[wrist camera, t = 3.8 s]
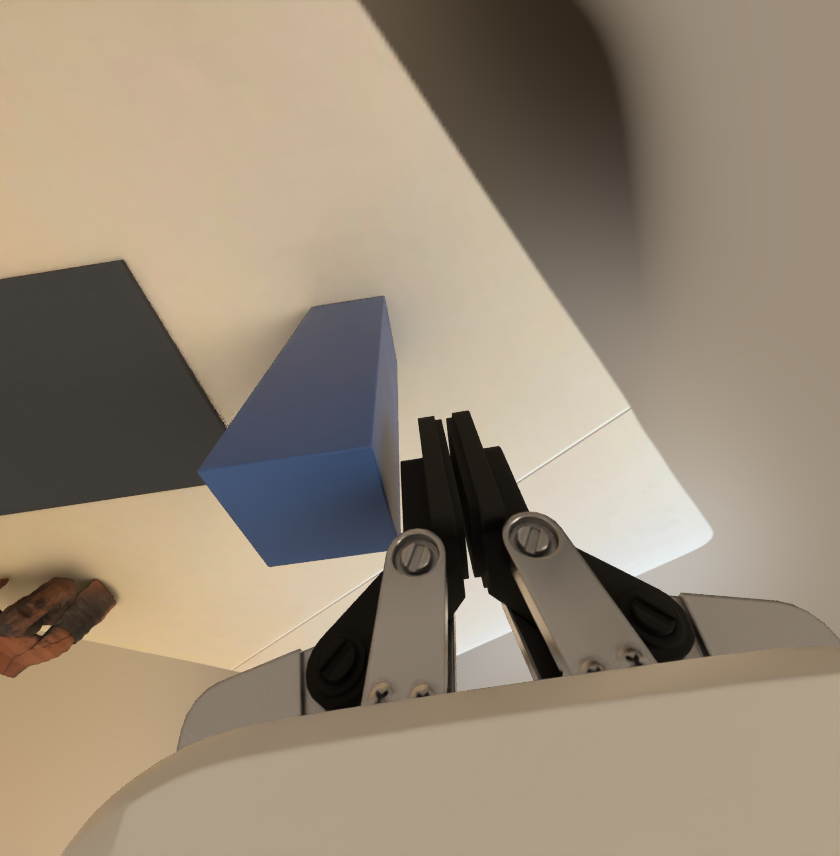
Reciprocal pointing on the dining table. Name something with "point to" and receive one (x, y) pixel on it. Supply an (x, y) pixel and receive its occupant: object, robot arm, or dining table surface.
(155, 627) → the dining table surface
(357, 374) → the blue post
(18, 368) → the rubber mat
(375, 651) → the robot arm
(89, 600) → the brown broken pot
